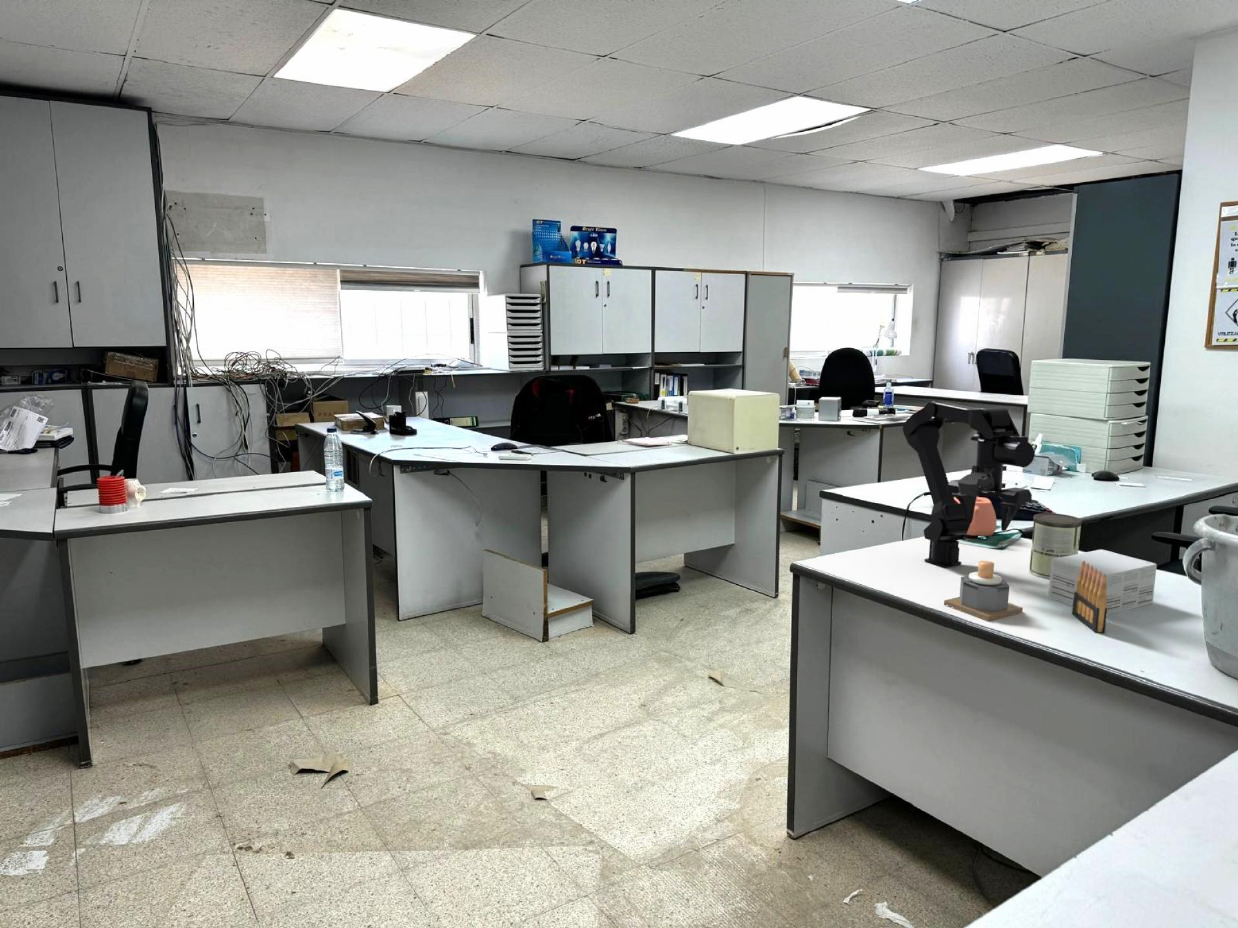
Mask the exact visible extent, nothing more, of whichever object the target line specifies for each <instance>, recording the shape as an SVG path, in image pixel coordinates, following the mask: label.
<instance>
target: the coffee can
mask: <svg viewBox="0 0 1238 928" xmlns="http://www.w3.org/2000/svg"><path fill="white" fill-rule="evenodd" d="M1082 523H1083V520H1082V519H1081V518H1080V517H1077V516H1073V515H1069V514H1065V513H1064V514H1062V513H1055V512H1054V513H1053V512H1052V513H1050V512H1046V513H1045V512H1043V513H1036V514H1034V515H1033V525H1032V526H1033V528H1032V536H1031V537H1032V538H1031V549H1030V557H1029V558H1030V560H1029V569H1028V571H1029V574H1031V575H1033V576H1035V577H1038V578H1041V579H1045V580H1050V574H1051V562H1052V559H1054V558H1059V557H1065V556H1070V555H1075V554H1079V547H1080V537H1081V530H1082V529H1081V528H1082Z"/></svg>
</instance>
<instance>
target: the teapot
mask: <svg viewBox="0 0 1238 928" xmlns="http://www.w3.org/2000/svg"><path fill="white" fill-rule="evenodd" d="M953 497H954V496H953ZM954 499H955V500H956V501H957V502H958V503H960V502H959V500H958V499H957V498H956V497H954ZM996 530H997V516H996V512H995V509H994V506H993V504H992V501H991V500H990V499H989V498H988V497H980V496H979V495H978V496H977V497H976V503H975V509H974V515H973V519H972V523H971V524H970V527H969V529H968V531H967V534H966V536H977V535H978V536H986V537H987V536H992V535H994V533H995V532H996Z"/></svg>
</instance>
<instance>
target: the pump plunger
mask: <svg viewBox="0 0 1238 928" xmlns="http://www.w3.org/2000/svg"><path fill="white" fill-rule="evenodd" d="M977 566H978V568H977V571H974V572H973V571H972V572H970V573H969V574H968V575H969V580H971V581H973V582H975V583H979V584H985V585H997V584H1001V582H1002V580H1003V578H1002V576H1000V575H998V574H996V573H994V570H995V563H994V562H992V561H990V560H989V561H988V560H979V561H978V565H977Z"/></svg>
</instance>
